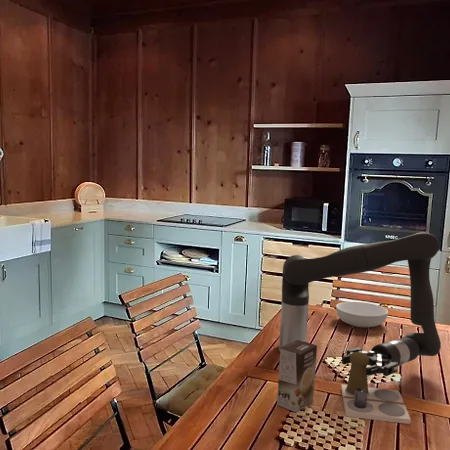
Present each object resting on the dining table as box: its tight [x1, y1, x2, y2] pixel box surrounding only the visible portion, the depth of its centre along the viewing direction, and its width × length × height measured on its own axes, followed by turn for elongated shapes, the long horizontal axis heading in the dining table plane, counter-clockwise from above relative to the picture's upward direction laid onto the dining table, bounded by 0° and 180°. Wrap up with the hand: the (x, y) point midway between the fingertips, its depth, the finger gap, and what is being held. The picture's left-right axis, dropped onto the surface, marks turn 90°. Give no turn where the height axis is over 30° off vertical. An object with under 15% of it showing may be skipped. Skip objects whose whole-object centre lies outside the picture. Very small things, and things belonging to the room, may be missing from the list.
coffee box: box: [276, 340, 318, 413], centre depth 128 cm, size 9×6×16 cm
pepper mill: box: [346, 352, 369, 395], centre depth 133 cm, size 6×6×11 cm
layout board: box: [340, 383, 412, 425], centre depth 129 cm, size 16×16×1 cm
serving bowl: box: [335, 301, 389, 328], centre depth 197 cm, size 21×21×7 cm
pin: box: [354, 388, 368, 409], centre depth 126 cm, size 3×3×4 cm
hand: (354, 366), depth 132 cm, fingers open, 8 cm apart
